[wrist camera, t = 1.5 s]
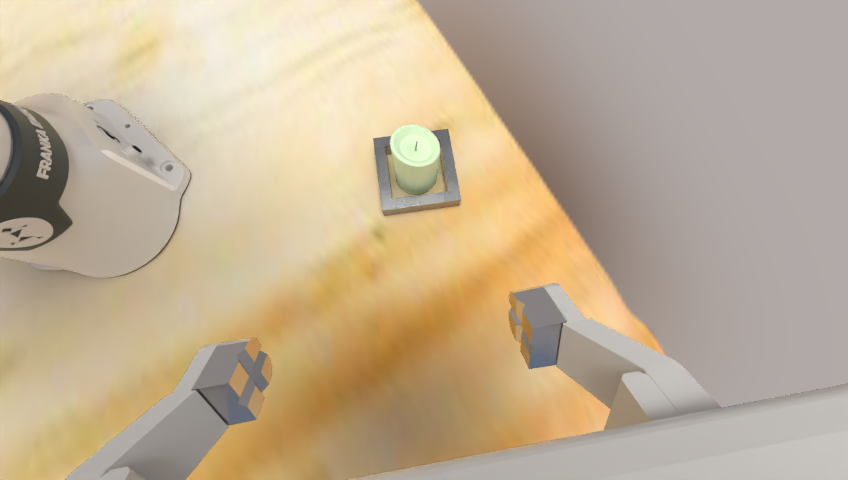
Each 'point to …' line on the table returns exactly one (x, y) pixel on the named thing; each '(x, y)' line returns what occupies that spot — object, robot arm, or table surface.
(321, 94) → the table surface
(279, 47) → the table surface
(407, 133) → the candle
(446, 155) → the holder collar
